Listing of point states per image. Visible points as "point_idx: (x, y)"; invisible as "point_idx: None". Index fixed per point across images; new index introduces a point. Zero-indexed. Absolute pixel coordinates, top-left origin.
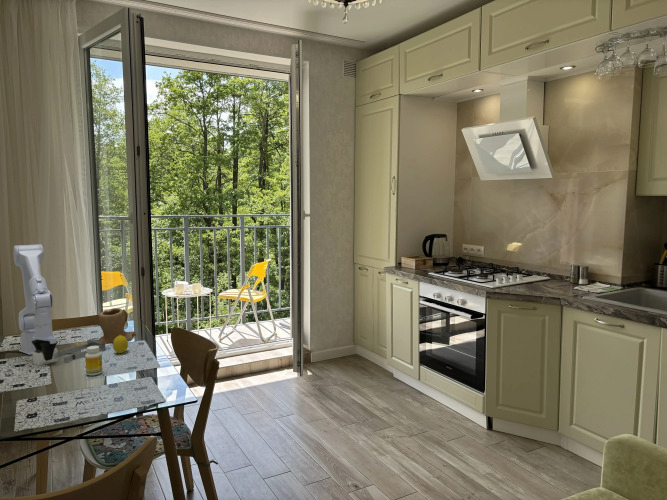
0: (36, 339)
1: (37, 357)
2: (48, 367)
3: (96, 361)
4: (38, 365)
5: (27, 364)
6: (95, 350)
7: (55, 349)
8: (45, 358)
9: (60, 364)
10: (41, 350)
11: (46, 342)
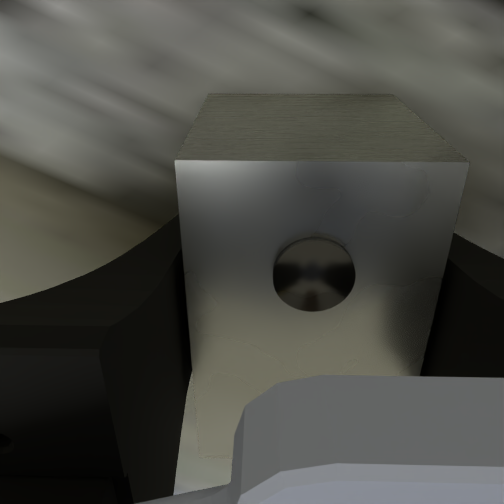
0: (233, 460)
1: (229, 128)
2: (34, 141)
3: None
4: (222, 95)
5: (452, 24)
6: None
7: (197, 428)
8: (177, 218)
9: (56, 277)
10: (288, 280)
11: (38, 487)
